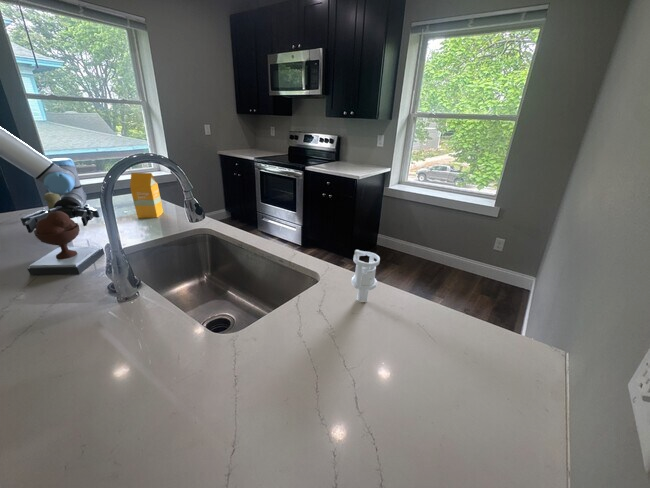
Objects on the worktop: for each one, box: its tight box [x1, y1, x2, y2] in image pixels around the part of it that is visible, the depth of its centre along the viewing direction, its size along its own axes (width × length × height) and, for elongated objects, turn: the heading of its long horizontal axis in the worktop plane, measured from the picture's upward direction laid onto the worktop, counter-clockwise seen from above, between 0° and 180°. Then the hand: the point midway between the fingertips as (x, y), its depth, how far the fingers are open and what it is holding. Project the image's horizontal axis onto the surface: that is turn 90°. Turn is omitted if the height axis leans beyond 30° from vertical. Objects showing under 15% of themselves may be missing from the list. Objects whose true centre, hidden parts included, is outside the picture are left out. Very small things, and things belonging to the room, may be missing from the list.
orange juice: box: [129, 172, 164, 219], centre depth 138 cm, size 8×9×20 cm
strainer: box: [350, 249, 381, 303], centre depth 83 cm, size 7×7×15 cm
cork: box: [43, 192, 60, 210], centre depth 133 cm, size 6×6×11 cm
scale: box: [27, 246, 106, 276], centre depth 97 cm, size 14×14×3 cm
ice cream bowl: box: [33, 211, 81, 259], centre depth 94 cm, size 11×11×15 cm
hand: (57, 225), depth 94 cm, fingers open, 13 cm apart
